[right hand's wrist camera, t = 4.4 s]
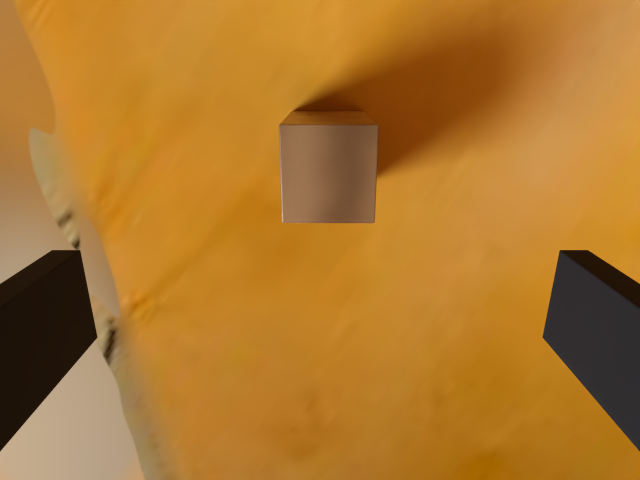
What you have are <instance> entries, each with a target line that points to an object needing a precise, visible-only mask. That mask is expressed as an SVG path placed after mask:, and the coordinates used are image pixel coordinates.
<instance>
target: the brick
mask: <svg viewBox="0 0 640 480" xmlns="http://www.w3.org/2000/svg"><path fill="white" fill-rule="evenodd" d="M378 135H379V125H378V124H377V123H376V122H375V121H374V120H373V119H372V118H371V117H369V116H368V115H367V114H366V113H365V112H364V111H292V112H291V113H290V114H289V115H288V116H287V117H286V118H285V119H284V120H283V121H282V122H281V124H280V125H279V140H280V173H281V206H282V223H374V222H375V203H376V180H377V157H378Z"/></svg>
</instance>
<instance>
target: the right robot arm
mask: <svg viewBox="0 0 640 480" xmlns="http://www.w3.org/2000/svg"><path fill="white" fill-rule="evenodd" d="M96 338H97V333H96V328H95V323H94V318H93V313H92V308H91V303H90V298H89V293H88V288H87V283H86V278H85V272H84V267H83V262H82V257H81V252H80V250H52V251H50V252H49V253H47V254H46V255H44V256H43V257H41V258H40V259H38V260H36V261H35V262H33V263H32V264H30V265H29V266H27V267H26V268H24V269H23V270H21V271H19V272H18V273H16V274H15V275H13V276H12V277H10V278H9V279H7V280H6V281H4V282H3V283H1V284H0V451H1V450H2V449H3V447H4V446H5V445H6V444H7V443H8V442H9V440H10V439H11V438H12V437H13V436H14V435H15V433H16V432H17V431H18V430H19V429H20V428H21V426H22V425H23V424H24V423H25V422H26V420H27V419H28V418H29V417H30V416H31V415H32V413H33V412H34V411H35V410H36V409H37V408H38V406H39V405H40V404H41V403H42V402H43V400H44V399H45V398H46V397H47V396H48V395H49V394H50V392H51V391H52V390H53V389H54V388H55V386H56V385H57V384H58V383H59V382H60V381H61V379H62V378H63V377H64V376H65V375H66V374H67V372H68V371H69V370H70V369H71V368H72V367H73V365H74V364H75V363H76V362H77V361H78V359H79V358H80V357H81V356H82V355H83V354H84V352H85V351H86V350H87V349H88V348H89V347H90V345H91V344H92V343H93V342H94V341H95V340H96ZM543 338H544V340H545V341H546V342H547V343H548V344H549V345H550V347H551V348H552V349H553V350H554V351H555V352H556V354H557V355H558V356H559V357H560V358H561V360H562V361H563V362H564V363H565V364H566V365H567V367H568V368H569V369H570V370H571V371H572V372H573V374H574V375H575V376H576V377H577V378H578V379H579V381H580V382H581V383H582V384H583V385H584V386H585V388H586V389H587V390H588V391H589V392H590V394H591V395H592V396H593V397H594V398H595V399H596V401H597V402H598V403H599V404H600V405H601V406H602V408H603V409H604V410H605V411H606V412H607V413H608V415H609V416H610V417H611V418H612V419H613V421H614V422H615V423H616V424H617V425H618V426H619V428H620V429H621V430H622V431H623V432H624V433H625V435H626V436H627V437H628V438H629V439H630V440H631V442H632V443H633V444H634V445H635V446H636V447H637V449H638V450H639V451H640V284H639V283H637V282H636V281H634V280H633V279H631V278H630V277H628V276H627V275H625V274H624V273H622V272H620V271H619V270H617V269H616V268H614V267H613V266H611V265H610V264H608V263H607V262H605V261H604V260H602V259H600V258H599V257H597V256H596V255H594V254H593V253H591V252H590V251H588V250H560V252H559V257H558V262H557V267H556V272H555V277H554V282H553V287H552V293H551V298H550V303H549V308H548V313H547V318H546V323H545V328H544V333H543Z"/></svg>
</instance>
